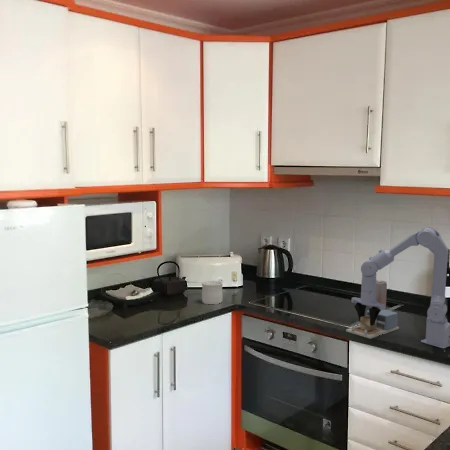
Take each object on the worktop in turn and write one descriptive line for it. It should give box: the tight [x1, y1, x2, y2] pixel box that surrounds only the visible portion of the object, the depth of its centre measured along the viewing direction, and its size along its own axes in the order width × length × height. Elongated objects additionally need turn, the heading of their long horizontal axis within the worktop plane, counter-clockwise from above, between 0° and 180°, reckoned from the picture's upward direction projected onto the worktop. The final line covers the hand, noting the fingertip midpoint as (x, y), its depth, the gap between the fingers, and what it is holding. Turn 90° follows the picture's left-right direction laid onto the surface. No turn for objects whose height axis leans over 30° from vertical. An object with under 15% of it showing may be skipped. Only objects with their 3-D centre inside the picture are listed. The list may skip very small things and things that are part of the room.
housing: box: [365, 309, 399, 330], centre depth 225 cm, size 10×8×6 cm
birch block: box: [359, 314, 377, 331], centre depth 219 cm, size 4×4×4 cm
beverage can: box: [376, 279, 388, 310], centre depth 244 cm, size 6×6×15 cm
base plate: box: [345, 320, 400, 339], centre depth 222 cm, size 12×20×3 cm, turn 130°
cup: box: [201, 280, 224, 305], centre depth 262 cm, size 10×10×10 cm
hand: (367, 323), depth 219 cm, fingers closed on birch block, 4 cm apart
